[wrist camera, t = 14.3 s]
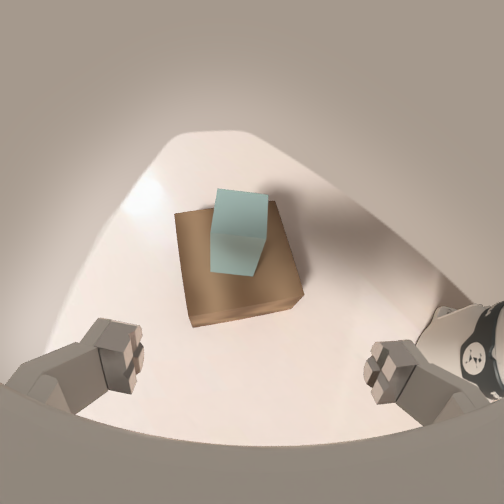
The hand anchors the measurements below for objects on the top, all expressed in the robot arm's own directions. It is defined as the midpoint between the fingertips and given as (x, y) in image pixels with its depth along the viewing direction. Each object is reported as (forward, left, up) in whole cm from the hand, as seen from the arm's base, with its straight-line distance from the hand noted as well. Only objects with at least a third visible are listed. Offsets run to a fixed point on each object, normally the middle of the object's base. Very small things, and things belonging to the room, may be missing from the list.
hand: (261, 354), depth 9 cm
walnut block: (0, -13, -24) cm, 27 cm away
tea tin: (+1, -12, -18) cm, 22 cm away
